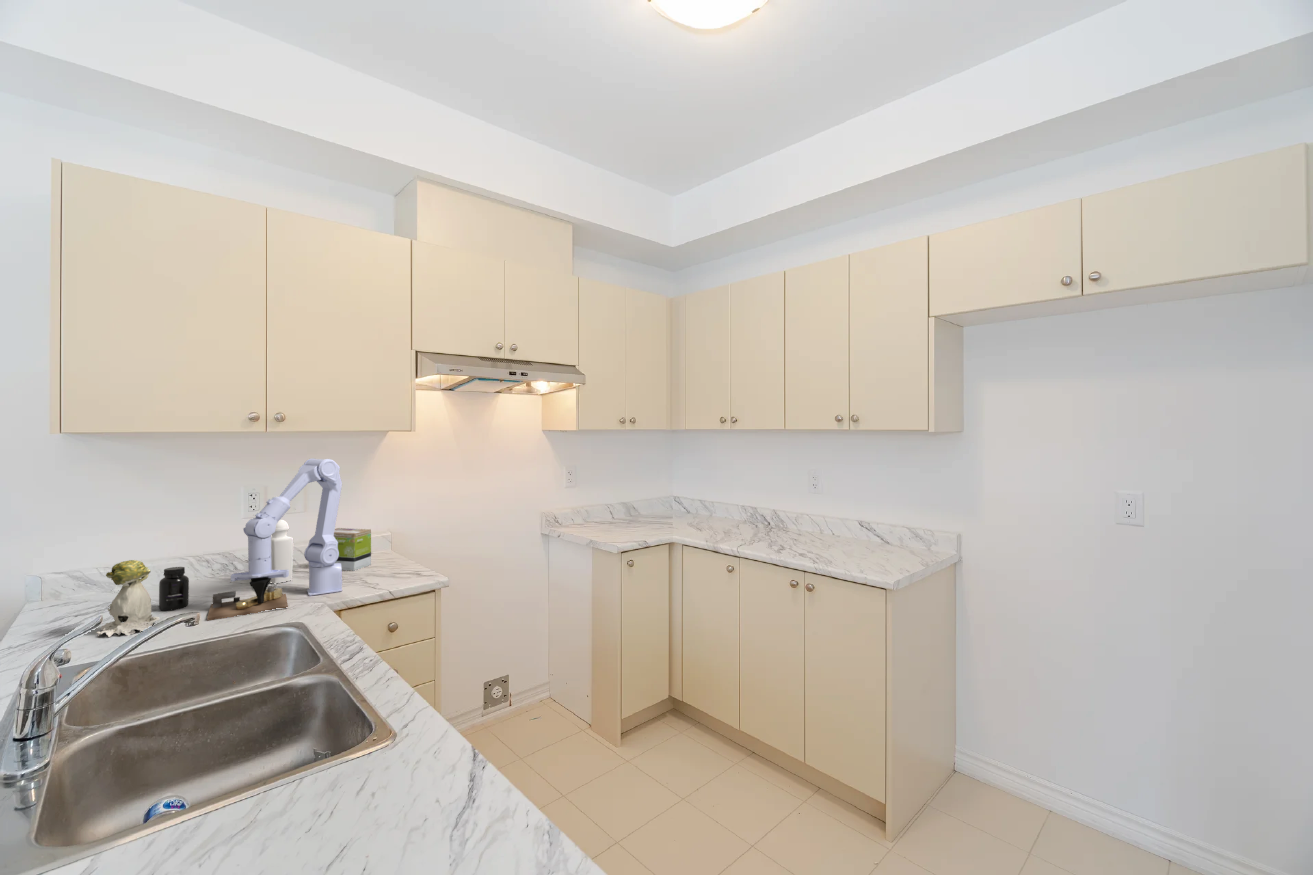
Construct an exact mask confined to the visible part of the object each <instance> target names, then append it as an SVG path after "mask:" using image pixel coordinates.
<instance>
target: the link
mask: <svg viewBox="0 0 1313 875" xmlns="http://www.w3.org/2000/svg"><path fill="white" fill-rule="evenodd" d="M282 594H283V588H279V587H278V588H276V587H274V591H272V592H268V589H267V588H266V591H265V594H264V602H265V601H267V600H274V599H277V598H280V597H281V596H282ZM245 599H246V600H243V599H242V600H243V601H239V602H236V609H237V610H240V609H246V608H248V607H250V606H253V605H256V604H258V601H257V596H256V595H255V596H252V597H250V598H245Z"/></svg>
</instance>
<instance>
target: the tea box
mask: <svg viewBox="0 0 1313 875" xmlns="http://www.w3.org/2000/svg"><path fill="white" fill-rule="evenodd" d="M334 537H335V539H336V540H337V542H338V551H339V556H338V559H337V560H336V562H335V563H341V568H342V571H349V570H352V571H351V572H355V570H356V571H359V570H361V568H362V569H363V567H364V568H367V567H370V566H372V530H371V528H370V529H366V528H348V527H347V528H346V527H345V528H344V527H337V528H335V530H334ZM369 565H370V566H369ZM366 566H367V567H366ZM358 569H359V570H358Z"/></svg>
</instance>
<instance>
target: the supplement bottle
mask: <svg viewBox="0 0 1313 875" xmlns="http://www.w3.org/2000/svg"><path fill="white" fill-rule="evenodd" d="M185 570H186V569H185V566H172V567H166V568H164V569H163V576H164V577H163V578H161V579H160V580H159V583H158V609H159V610H160V611H162V612H170V611H177V610H181V609H185V608H186V607H188V606H189V602H190V601H189V600H190V599H189V597H190V594H189V593H190V581H189V580H190V579H189V577H188V576H187V575H185V574H186V572H185Z"/></svg>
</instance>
